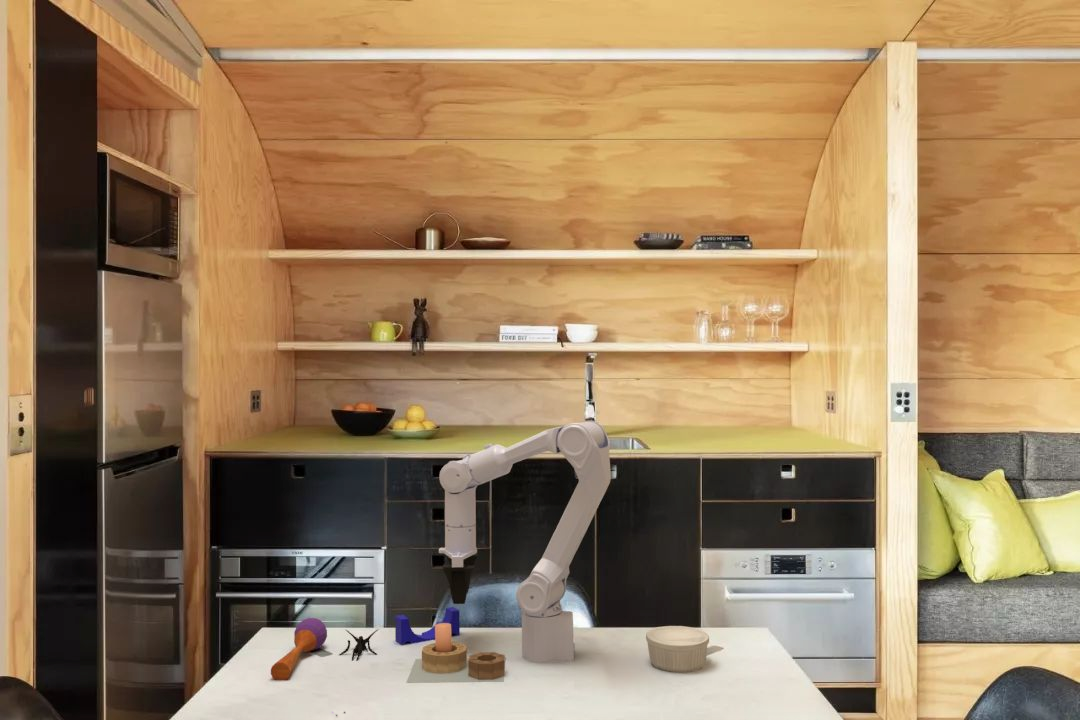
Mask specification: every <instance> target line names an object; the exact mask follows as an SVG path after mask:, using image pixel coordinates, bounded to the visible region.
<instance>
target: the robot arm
mask: <svg viewBox="0 0 1080 720" xmlns="http://www.w3.org/2000/svg"><path fill="white" fill-rule="evenodd" d="M608 436H609V435H608V433H606V431H605V428H604V427H603V425H602V424H600V423H599V422H597V421H595V420H585V421H582V422H572V423H568V424H566V425H562V426H558V427H552V428H549V429H544V431H541V432H539V433H537V434H534V435H532V436H530V437H527V438H525V439H523V440H521V441H518V442H517V443H514V444H512V445H509V446H508V447H506V446H503V445H501V444H499V443H498V444H497V443H496V444H493V443H488V444H485V445H484V446H483V449H482V450H479V451H477V452H475V453H472V454H470V453H466V454H464V455H462V459H460V460H450V461H448V462H447V463H446V464H445V465H443V467H441V470H440V471H439V477H438V479H439V483H440V485H441V487H442V488H443V490H444V547H440V548H439V549H438V554H444V555H446V556H447V559H448V562H449V563H445V564H444V563H443V564H442V565H443V566H442V571H443V572H444V575H445V576H446V579H447V581H448V584H449V585H448V587H449V590H450V596H451V601H452V604H453V605H465V603H466V600H467V595H468V592H469V590H470V583H471V577H472V572H473V571H474V568H475V563H476V560H477V558H478V548H477V530H476V529H477V521H476V520H477V515H476V513H477V512H476V509H477V508H476V506H477V505H476V489H477V487H478V486H480V485H483V484H485V483H488V482H490V481H492V480H495V479H497V478H500V477H503V476H505V475H507V474H509V473H510V472H511V469H512V468H513V464H516V463H518V462H521V461H523V460H526V459H529V458H533V457H534V456H537V455H541V454H544V453H545V452H551V453H553V454H560V453H561V454H562V455H563V457H564V458H565V459H566V460H567V461H568V463H570V465H571V466H572V468H574V469H573V470H574V472H575V474H576V477H577V479H578V483H577V484H576V486H575V488H574V491H573V493H572V495H571V497H570V499H569V501H568V503H567V505H566V507H565V509H564V511H563V514H562V516H561V517H560V520H559V522H558V524H557V525H556V529H554V532H553V534H552V536H551V538H550V540H549V543H548V544H547V547H546V548H545V551H544V553H543V554H542V557H541V559H540V560H539V561H538V562H537V563H536V564H535V566H534V567H533V569H532V570H531V572H530V574H529V576H528V577H527V578H526V579H524V580H523V581H522V582H521V583H519V586H518V587H517V590H516V595H515V596H516V597H515V598H516V602H517V605H518V607H519V608H520V609H521V658H522V659H523V660H525V661H528V662H532V663H541V664H542V663H554V662H574V659H575V658H574V654H575V653H576V647H575V646H576V645H575V644H576V643H575V642H574V613H573V611H572V610H563V607H562V604H561V600H562V599H563V598H564V596H565V594H566V591H567V578H568V577H569V575H570V565H571V563H572V561H573V559H574V556H575V554H576V552H577V551H578V549H579V547H580V545H581V543H582V541H583V538H584V537H585V535H586V533H587V531H588V528H589V526H590V524H591V523H592V520H593V518H594V516H595V515H596V512H597V509H598V508H599V505H600V503H601V501H602V499H603V498H604V496H605V494H606V492H607V490H608V487H609V485H610V483H611V480H612V476H611V475H612V474H611V460H610V457H611V456H610V448H611V440H610V439H609V437H608Z"/></svg>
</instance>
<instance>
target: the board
mask: <svg viewBox="0 0 1080 720" xmlns="http://www.w3.org/2000/svg"><path fill="white" fill-rule="evenodd" d="M468 660H469V657H467V666H466V668H465V669H463V670H461V671H458V672H453V673H438V674H436V673H431V672H426V671H425V670H424V669H422V658H415V660H414V662H413V664H412V668H411V670H410V672H409V675H408V677H407V680H406V684H414V683H415V684H419V683H421V684H422V683H425V684H427V683H428V684H429V683H432V684H433V683H434V684H435V683H504V681H505V675H504V676H502V677H499V678H496V679H493V680H479V679H475V678H472V677H469V676H468ZM505 662H506V657H505ZM504 674H505V672H504Z"/></svg>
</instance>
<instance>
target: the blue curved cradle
mask: <svg viewBox="0 0 1080 720" xmlns="http://www.w3.org/2000/svg"><path fill="white" fill-rule="evenodd" d="M394 617H395V619H394V621H395V626H394V627H395V634H394V635H395V642H396V643H397V644H399V645H400V646H405V644H406V643H410V644H417V643H423V642H429V641H434V640H435V625H434V626H433V627H431V628H430V629H429V630H426V631H424V632H421V634H417V633H415V632H414V631H413V629H412V627H411V624H410V618H409V617H407V616H405V615H404V614H399V615H395V616H394ZM460 620H461V619H460V610H459V609H457V608H456V607H454V606H451V607H445V613H444V617H443V619H442V621H438V622H437V623H436V624H439V623H450V624H451V635H454V636H456V637H458V636H460V634H461V633H460V630H461V629H460V624H461V623H460Z"/></svg>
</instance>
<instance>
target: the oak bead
mask: <svg viewBox="0 0 1080 720" xmlns="http://www.w3.org/2000/svg"><path fill="white" fill-rule="evenodd" d="M467 649H468V646H467V645H465V644H464V643H460V642H455V641H452V652H447V653H439V652H436V645H435V642H433V643H432V642H431V643H429V644H426V645H424V646H423V647H422V649H421V659H422V669H424V670H425V671H426V672H431V673H436V674H438V673H453V672H458V671H461V670H463V669H465V668H466V666H467V658H468V654H467V653H468V650H467Z"/></svg>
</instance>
